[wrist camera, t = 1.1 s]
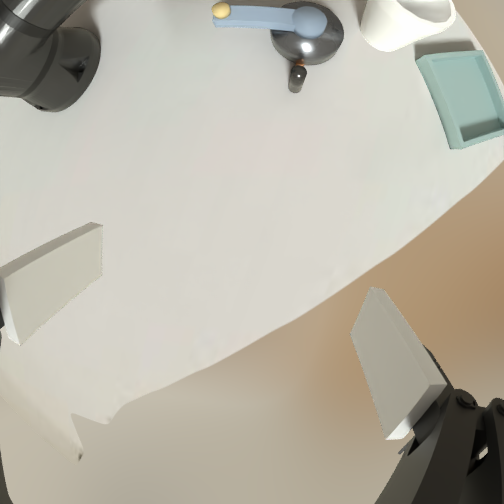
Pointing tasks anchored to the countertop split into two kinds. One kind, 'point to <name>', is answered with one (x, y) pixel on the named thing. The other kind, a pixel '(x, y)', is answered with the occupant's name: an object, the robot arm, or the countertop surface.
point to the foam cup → (404, 21)
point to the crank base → (308, 45)
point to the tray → (464, 96)
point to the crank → (272, 19)
